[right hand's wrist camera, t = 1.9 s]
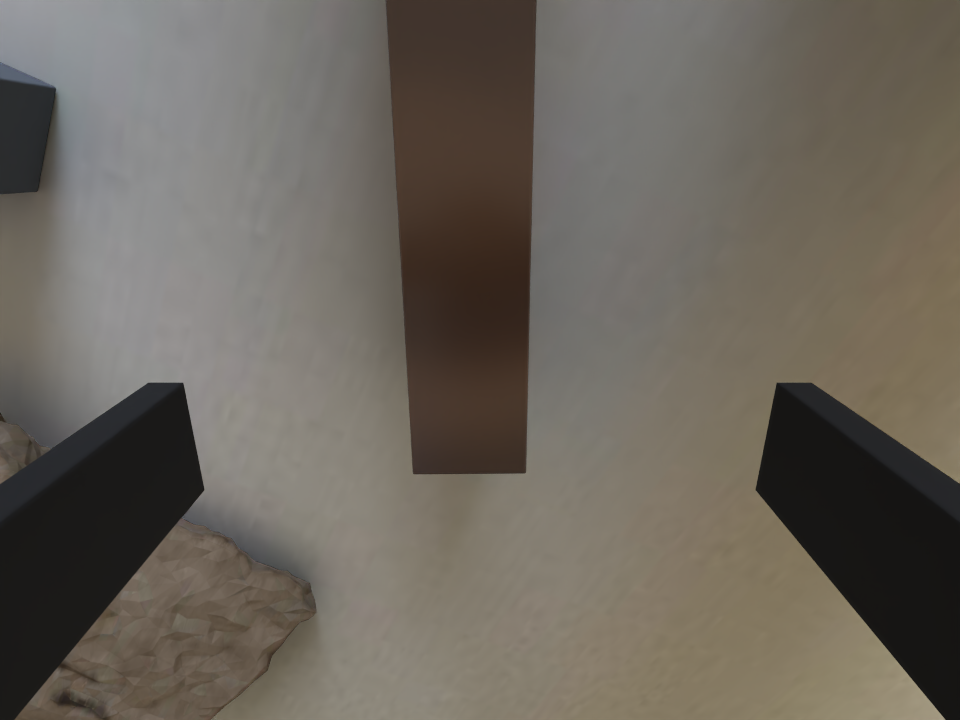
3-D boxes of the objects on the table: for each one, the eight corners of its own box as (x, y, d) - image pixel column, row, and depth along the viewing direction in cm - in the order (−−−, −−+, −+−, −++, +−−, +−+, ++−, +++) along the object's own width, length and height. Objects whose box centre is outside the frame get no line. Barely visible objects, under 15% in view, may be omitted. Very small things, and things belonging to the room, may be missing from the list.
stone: (-221, 581, 27) (-361, 682, 21) (-39, 344, 26) (-133, 383, 21) (183, 723, 35) (158, 822, 29) (330, 543, 34) (333, 610, 29)
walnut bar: (513, 386, 27) (526, 474, 20) (431, 387, 27) (412, 474, 20) (523, -430, 18) (555, -867, 10) (397, -428, 18) (336, -864, 10)
